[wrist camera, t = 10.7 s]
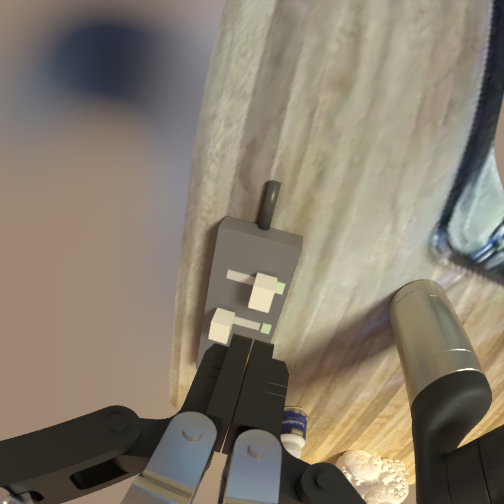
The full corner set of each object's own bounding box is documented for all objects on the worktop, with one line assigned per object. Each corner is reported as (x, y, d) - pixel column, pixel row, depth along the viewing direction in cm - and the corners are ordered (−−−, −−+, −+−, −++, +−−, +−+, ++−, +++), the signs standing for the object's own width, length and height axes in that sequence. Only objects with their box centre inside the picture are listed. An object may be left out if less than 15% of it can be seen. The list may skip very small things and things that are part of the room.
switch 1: (214, 324, 44) (208, 338, 41) (217, 307, 43) (211, 321, 40) (231, 329, 44) (226, 344, 41) (235, 312, 42) (230, 326, 40)
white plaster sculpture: (324, 475, 52) (398, 517, 41) (370, 415, 66) (434, 451, 55) (304, 497, 62) (364, 533, 51) (346, 447, 75) (400, 479, 64)
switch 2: (252, 293, 40) (247, 307, 38) (257, 272, 39) (253, 285, 36) (271, 298, 40) (268, 313, 38) (277, 277, 39) (274, 291, 36)
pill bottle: (308, 405, 55) (304, 449, 46) (307, 421, 57) (303, 462, 49) (278, 404, 56) (271, 447, 47) (279, 420, 59) (272, 460, 50)
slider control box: (235, 170, 38) (227, 178, 35) (316, 192, 37) (316, 201, 34) (201, 354, 53) (195, 369, 50) (257, 370, 52) (254, 386, 49)
